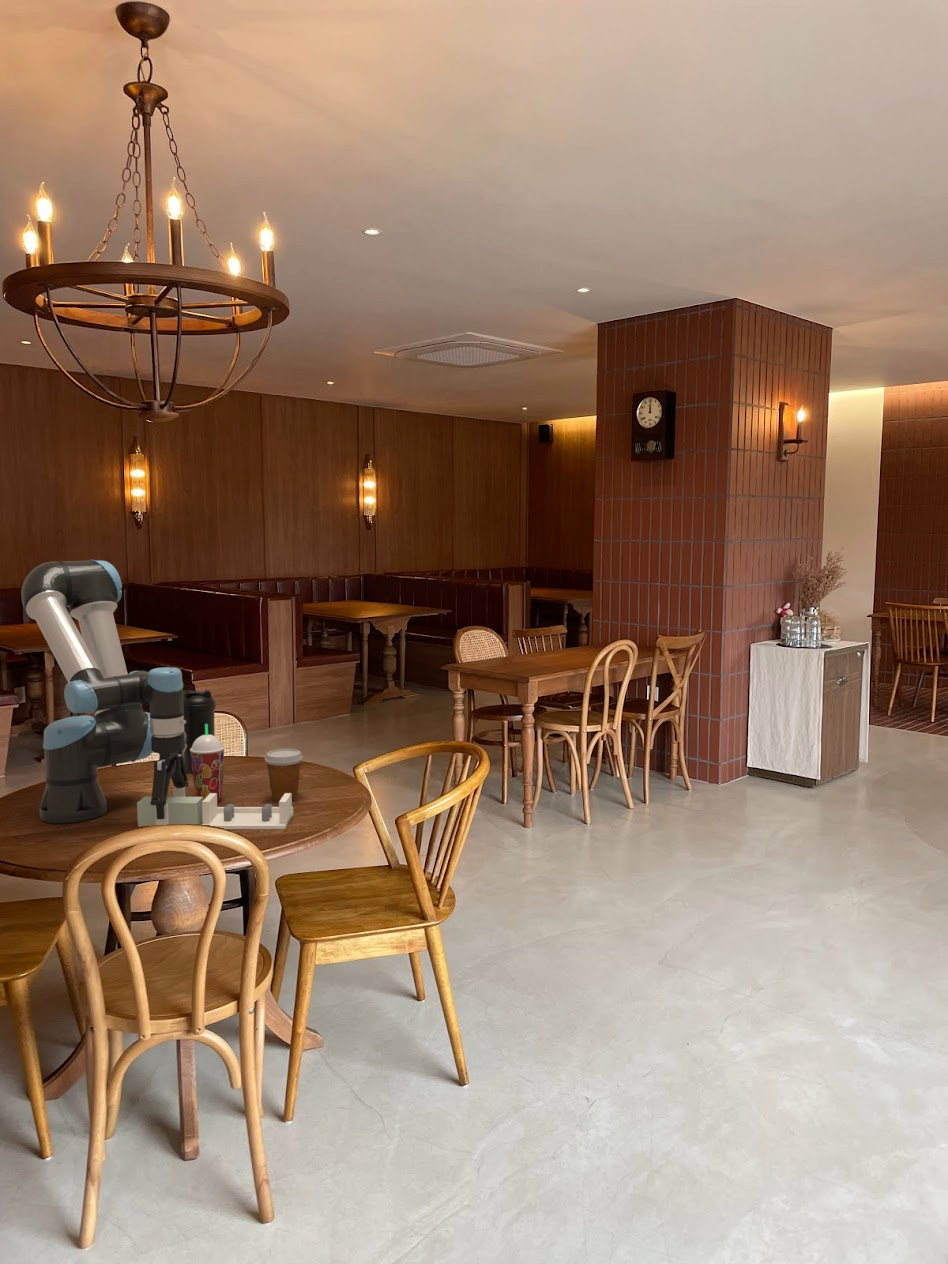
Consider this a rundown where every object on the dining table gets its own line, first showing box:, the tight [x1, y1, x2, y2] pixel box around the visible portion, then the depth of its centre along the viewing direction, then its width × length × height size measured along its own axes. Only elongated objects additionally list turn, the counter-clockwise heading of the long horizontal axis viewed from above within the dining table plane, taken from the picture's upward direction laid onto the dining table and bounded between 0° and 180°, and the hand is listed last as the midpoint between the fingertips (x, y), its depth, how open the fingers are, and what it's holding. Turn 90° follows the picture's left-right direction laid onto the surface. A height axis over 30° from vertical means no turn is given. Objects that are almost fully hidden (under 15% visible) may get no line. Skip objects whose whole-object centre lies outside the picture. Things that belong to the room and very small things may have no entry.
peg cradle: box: [201, 793, 294, 830], centre depth 227 cm, size 20×11×6 cm, turn 90°
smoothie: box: [190, 724, 225, 803], centre depth 243 cm, size 8×8×20 cm
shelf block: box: [136, 796, 203, 828], centre depth 226 cm, size 14×5×6 cm, turn 89°
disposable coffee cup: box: [264, 748, 303, 803], centre depth 245 cm, size 10×10×12 cm
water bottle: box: [182, 689, 216, 775], centre depth 272 cm, size 10×10×23 cm
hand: (171, 822), depth 226 cm, fingers open, 12 cm apart
